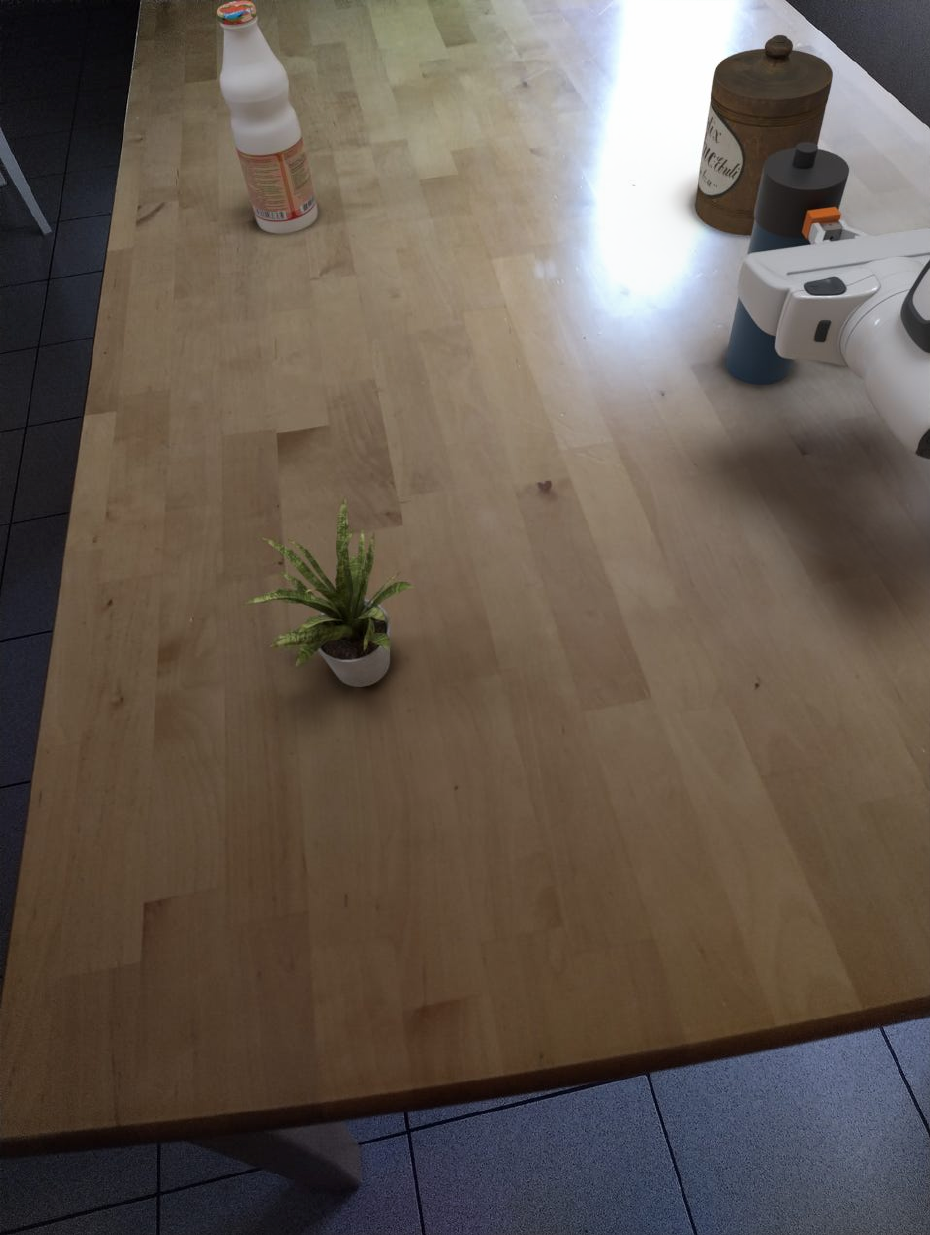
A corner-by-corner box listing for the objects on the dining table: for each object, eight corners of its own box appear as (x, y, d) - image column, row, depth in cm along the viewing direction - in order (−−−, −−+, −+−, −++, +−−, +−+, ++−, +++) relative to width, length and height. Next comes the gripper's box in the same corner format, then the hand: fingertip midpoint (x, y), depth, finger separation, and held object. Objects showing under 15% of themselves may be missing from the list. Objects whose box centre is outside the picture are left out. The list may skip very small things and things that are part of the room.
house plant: (289, 604, 88) (245, 491, 75) (425, 590, 88) (404, 475, 75) (282, 728, 80) (230, 625, 66) (431, 713, 79) (409, 607, 66)
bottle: (801, 384, 102) (867, 165, 81) (734, 394, 102) (783, 177, 81) (778, 343, 106) (835, 126, 86) (714, 352, 106) (755, 136, 86)
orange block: (835, 236, 84) (841, 214, 82) (806, 239, 84) (812, 218, 82) (829, 228, 84) (835, 206, 83) (801, 232, 84) (807, 210, 83)
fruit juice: (265, 244, 128) (205, 29, 105) (252, 213, 133) (192, 2, 111) (326, 227, 129) (280, 12, 107) (310, 198, 135) (263, -13, 112)
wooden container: (688, 186, 129) (711, 17, 111) (790, 181, 128) (831, 9, 110) (700, 242, 120) (727, 68, 102) (810, 237, 119) (857, 60, 101)
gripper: (1018, 263, 72) (943, 180, 80) (777, 298, 72) (726, 211, 80) (986, 328, 77) (919, 243, 85) (761, 360, 77) (715, 272, 85)
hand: (824, 228), depth 83 cm, fingers closed, pressing on orange block
